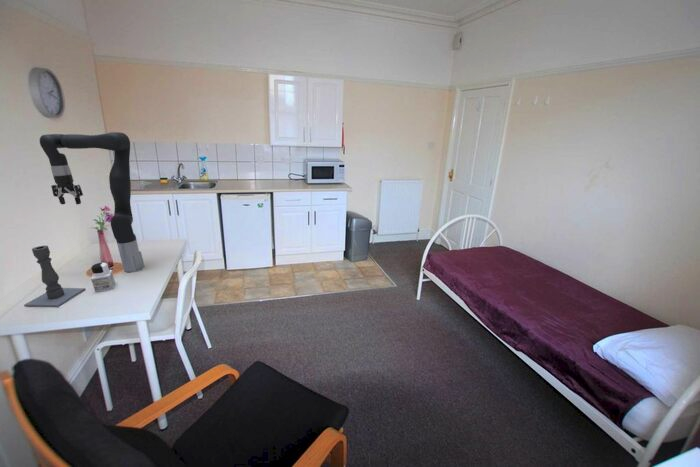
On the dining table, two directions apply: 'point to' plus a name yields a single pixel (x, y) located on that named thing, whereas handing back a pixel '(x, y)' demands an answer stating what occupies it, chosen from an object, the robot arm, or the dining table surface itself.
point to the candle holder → (48, 272)
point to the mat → (45, 302)
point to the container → (102, 277)
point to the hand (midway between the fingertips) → (71, 204)
